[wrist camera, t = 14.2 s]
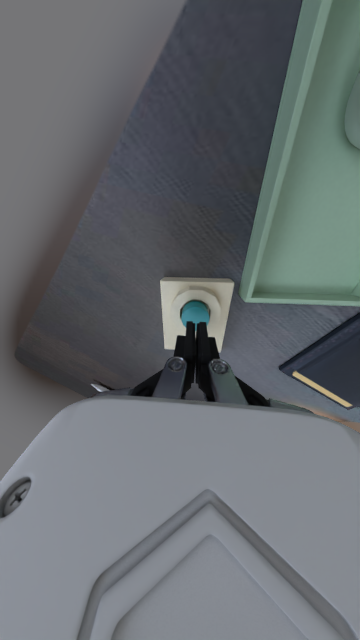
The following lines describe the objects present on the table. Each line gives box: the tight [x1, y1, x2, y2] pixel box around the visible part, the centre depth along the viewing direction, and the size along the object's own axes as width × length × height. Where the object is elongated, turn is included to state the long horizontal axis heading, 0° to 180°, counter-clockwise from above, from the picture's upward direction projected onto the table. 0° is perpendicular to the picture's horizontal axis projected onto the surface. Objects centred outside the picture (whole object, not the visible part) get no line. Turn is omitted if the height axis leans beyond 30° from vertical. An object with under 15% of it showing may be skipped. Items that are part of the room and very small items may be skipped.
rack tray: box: [238, 0, 360, 306], centre depth 12 cm, size 21×14×3 cm
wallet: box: [279, 314, 360, 410], centre depth 23 cm, size 20×2×15 cm
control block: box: [160, 277, 234, 352], centre depth 20 cm, size 11×9×4 cm
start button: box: [181, 301, 210, 331], centre depth 16 cm, size 3×3×2 cm
